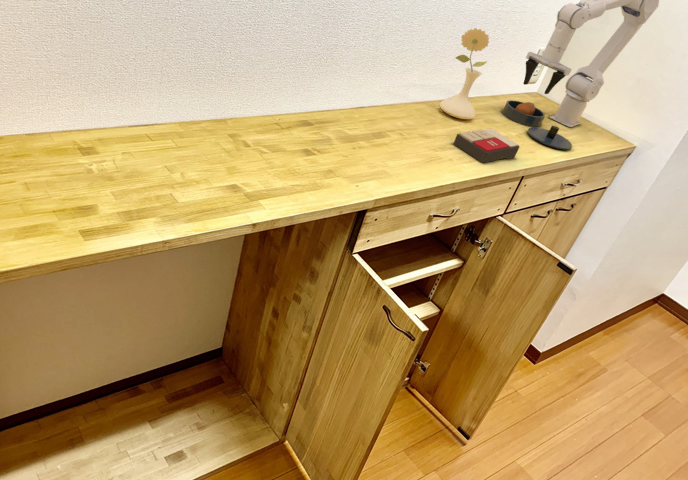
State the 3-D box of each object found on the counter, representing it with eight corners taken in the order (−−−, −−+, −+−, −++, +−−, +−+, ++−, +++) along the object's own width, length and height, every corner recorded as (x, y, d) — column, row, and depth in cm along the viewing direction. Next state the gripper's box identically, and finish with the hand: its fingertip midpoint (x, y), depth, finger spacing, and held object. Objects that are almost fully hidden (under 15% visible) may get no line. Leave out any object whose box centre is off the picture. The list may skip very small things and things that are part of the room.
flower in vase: (477, 118, 180) (513, 37, 165) (466, 125, 172) (503, 41, 157) (440, 102, 184) (472, 22, 169) (427, 109, 176) (460, 25, 161)
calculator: (457, 131, 155) (491, 125, 163) (451, 145, 158) (485, 139, 166) (487, 150, 149) (521, 143, 157) (481, 165, 151) (515, 157, 159)
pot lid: (537, 127, 187) (544, 115, 184) (576, 147, 180) (584, 134, 177) (519, 133, 178) (526, 120, 175) (560, 154, 171) (567, 140, 168)
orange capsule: (520, 112, 195) (527, 99, 192) (533, 118, 192) (540, 105, 190) (509, 115, 189) (516, 101, 186) (522, 121, 187) (529, 107, 184)
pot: (512, 108, 198) (517, 98, 196) (545, 124, 192) (551, 114, 190) (495, 112, 190) (500, 102, 188) (529, 129, 184) (535, 119, 182)
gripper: (530, 38, 177) (511, 80, 186) (573, 55, 171) (550, 99, 179) (540, 37, 182) (520, 79, 190) (581, 54, 175) (559, 96, 183)
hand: (535, 88), depth 185 cm, fingers open, 7 cm apart
